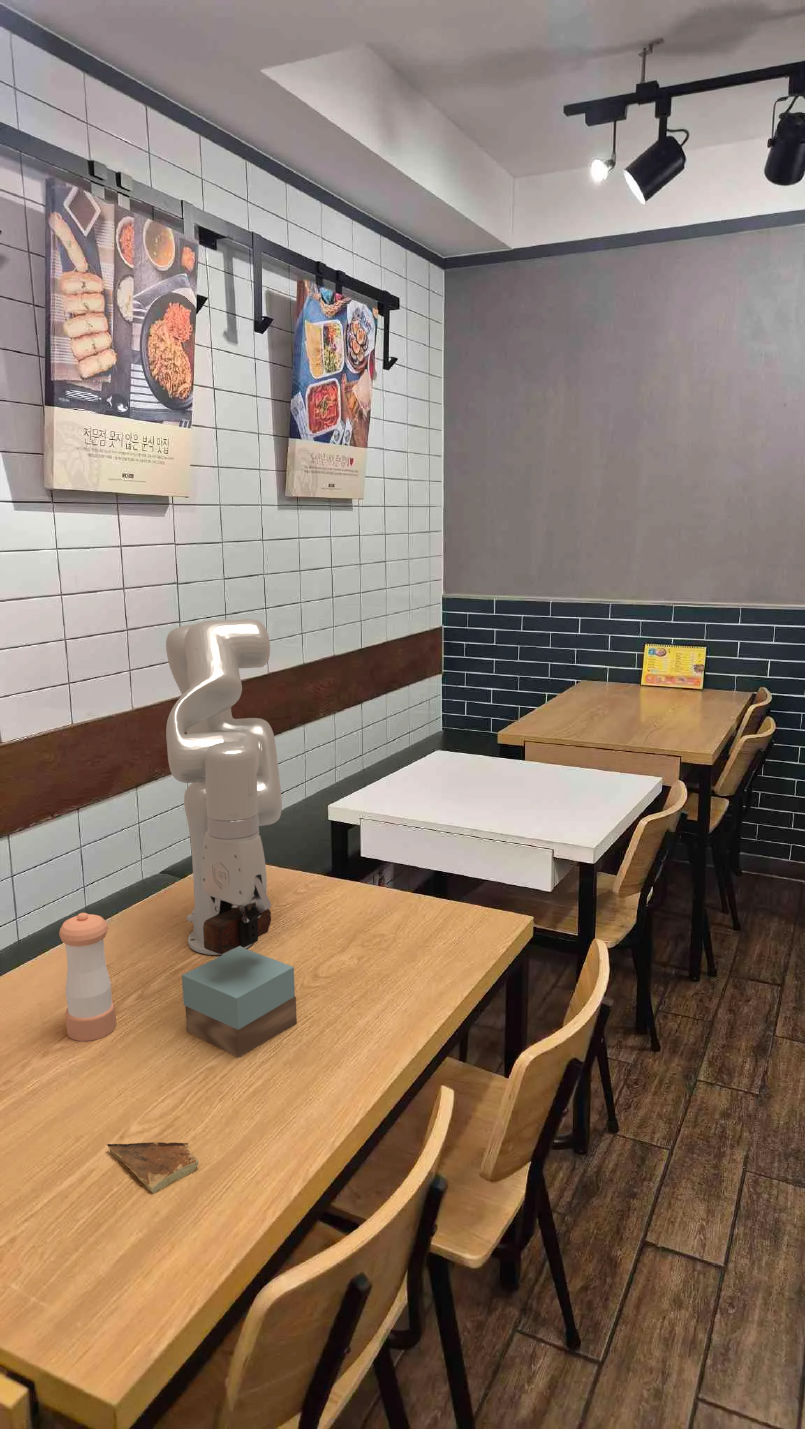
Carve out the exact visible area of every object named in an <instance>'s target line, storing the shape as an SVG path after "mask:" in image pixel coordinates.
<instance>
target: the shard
mask: <svg viewBox="0 0 805 1429" xmlns="http://www.w3.org/2000/svg"><path fill="white" fill-rule="evenodd" d="M106 1145H107V1147H108V1150H109V1154H111V1155H112V1156H113V1157H114V1158H115V1159H116V1160H118V1161H119V1162H121V1163H122V1164H124V1166H126V1167H127V1168H128V1169H129V1170H130V1171H131V1172H132V1173H133V1174H134V1175H135V1176H136V1177H137V1179H138V1181H140V1182H141V1183H142V1184H143V1185H145V1187H146V1189H147V1190H148V1191H150V1192H151V1193H152V1194H155V1193H156V1192H158V1191H160V1190H162V1189H164V1188H166V1187H167V1186H169V1185H171V1184H172V1183H173V1182H175V1181H178V1180H180V1179H182V1178H184V1177H186V1176H188V1175H190V1174H191V1173H193V1172H195V1171H196V1169H197V1167H198V1165H199V1159H198V1157H197V1156H196V1155H194V1153H192V1152H191V1151H190V1148H189V1142H167V1143H166V1142H162V1141H161V1142H153V1141H152V1142H137V1143H136V1142H135V1143H107V1144H106Z"/></svg>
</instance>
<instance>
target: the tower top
mask: <svg viewBox="0 0 805 1429" xmlns="http://www.w3.org/2000/svg"><path fill="white" fill-rule="evenodd" d="M181 983H182V999H183V1000H182V1001H183V1006H184V1007H185V1006H187V1007H189V1008H191V1009H193V1010H196V1011H198V1012H200V1013H202V1014H204V1015H207V1016H209V1017H211V1018H213V1019H215V1020H218V1021H220V1022H222V1023H224V1024H226V1025H229V1026H231V1027H233V1028H235V1029H238V1030H239V1029H240V1028H242V1027H244V1026H246V1025H247V1024H249V1023H251V1022H252V1021H254V1020H256V1019H257V1018H259V1017H261V1016H263V1015H264V1014H266V1013H268V1012H269V1011H271V1010H273V1009H274V1008H276V1007H278V1006H280V1005H281V1004H283V1003H285V1002H286V1001H288V1000H290V999H291V998H293V997H296V996H295V995H296V994H295V993H296V991H295V989H296V988H295V967H294V966H293V965H289V964H287V963H284V962H281V961H279V960H277V959H274V958H272V957H268V956H266V955H263V954H261V953H258V952H255V951H254V950H253V951H252V950H249V949H248V948H246V949H245V948H242V947H238V948H236V949H234V950H232V951H230V952H228V953H226V954H224V955H220V956H219V955H218V957H216V958H214V959H212V960H210V961H207V962H206V963H204V964H201V965H200V966H197V967H196V968H193V969H192V970H189V971H187V972H185V973H184V974H182V975H181Z"/></svg>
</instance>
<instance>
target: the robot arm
mask: <svg viewBox="0 0 805 1429" xmlns="http://www.w3.org/2000/svg"><path fill="white" fill-rule="evenodd" d="M165 649H166V656H167V657H166V658H167V661H168V665H169V669H170V671H171V674H172V676H173V679H174V682H175V683H176V686H177V687H178V689H179V691H180V694H181V696H180V697H179V698H178V699H177V700H176V702H175V704H174V705H173V706H172V708H171V710H170V712H169V714H168V717H167V721H166V730H165V732H166V733H165V736H166V737H165V738H166V739H165V740H166V748H167V749H166V750H167V760H168V765H169V770H170V773H171V775H172V777H173V778H174V779H175V780H177V782H180V783H184V784H190V785H188V787H187V788H186V789H185V791H184V796H183V805H184V811H185V817H186V820H187V825H188V831H189V837H190V848H191V858H192V859H191V861H192V863H191V864H192V876H193V877H192V879H193V880H192V881H193V895H194V897H193V898H194V908H192V911H191V913H189V914H187V916H186V921H188V922H189V923H193V924H192V925H193V930H192V931H191V932H190V933H189V934H188V938H187V940H188V941H187V944H188V947H189V948H190V949H192V951H193V952H197V953H199V954H203V955H209V956H211V955H212V956H219V955H220V956H221V955H224V954H226V953H228V952H230V951H232V950H234V949H236V948H234V949H232V950H230V951H227V952H225V953H223V954H218V953H215V952H213V951H210V950H207V949H205V948H204V935H203V927H204V926H203V925H204V922H205V921H206V920H207V919H209V918H211V917H213V916H216V915H219V914H221V913H224V912H227V911H229V910H231V909H234V908H236V907H238V906H239V908H240V914H241V919H242V921H241V922H239V938H240V946H239V947H242V948H245V949H248V948H249V947H251V946H252V945H253V944H255V943H257V942H258V941H259V937H258V919H257V918H259V917H260V915H261V914H262V913H263V912H264V911H265V910H267V909H269V910H270V908H271V907H272V903H271V901H270V899H269V897H268V894H267V892H268V889H267V888H268V885H267V884H268V883H267V882H268V881H267V880H268V879H267V878H268V877H267V867H266V858H265V851H264V847H263V846H264V845H263V841H262V838H261V835H260V828H259V827H262V826H270V825H273V824H275V823H277V822H278V821H279V820H280V817H281V815H282V810H283V809H282V808H283V803H282V801H283V799H282V790H281V782H280V772H279V764H278V756H277V747H276V739H275V735H274V734H275V733H274V731H273V729H272V727H271V725H270V723H269V722H268V721H267V720H265V719H263V718H261V717H260V718H258V717H247V718H234V717H233V714H232V707H233V706H234V705H235V704H237V702H238V701H239V700H240V698H241V695H242V692H243V685H242V679H241V674H240V669H254V668H256V669H257V668H263V667H265V666H266V665H267V663H268V662H269V660H270V657H271V656H270V655H271V642H270V637H269V633H268V631H267V628H266V627H265V625H264V624H263V623H262V622H261V621H260V620H257V619H253V618H252V619H250V618H249V619H246V618H245V619H243V618H242V619H219V620H218V619H215V620H214V619H213V620H206V621H205V620H204V621H201V622H197V623H195V624H187V625H183V626H179V627H175V628H173V629H172V630H170V631H169V633H168V634H167V636H166V641H165ZM250 904H251V909H250V910H249V911H248V909H247V905H250ZM237 948H238V947H237Z"/></svg>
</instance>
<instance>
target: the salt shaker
mask: <svg viewBox="0 0 805 1429" xmlns="http://www.w3.org/2000/svg"><path fill="white" fill-rule="evenodd" d="M108 930H109V927H108V924H107V921H106V920H105V919H104V917H102V916H101V915H97V914H93V913H92V914H89V913H87V912H80V913H78V915H75V916H73V917H70V918H68V919H66V920H65V921H64V922H63V923H62V925H61V927H60V928H59V933H58V934H59V937H60V940H61V941H62V943H63V944H65V951H66V963H67V971H66V979H65V980H66V981H65V982H66V983H65V997H66V1005H67V1008H66V1010H65V1014H64V1015H65V1023H66V1024H65V1025H66V1033H67V1037H69V1038H70V1039H72V1040H74V1041H79V1042H88V1041H89V1042H90V1041H94V1040H98V1039H101V1038H104V1037H106V1036H108V1035H109V1034H111V1033H113V1031H114V1030H115V1029H116V1026H117V1021H116V1020H117V1019H116V1007H115V1002H114V1001H113V1000H112V998H113V997H112V983H111V979H110V975H109V972H108V968H107V964H106V954H105V945H104V944H105V943H104V938H106V936H107V934H108Z"/></svg>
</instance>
